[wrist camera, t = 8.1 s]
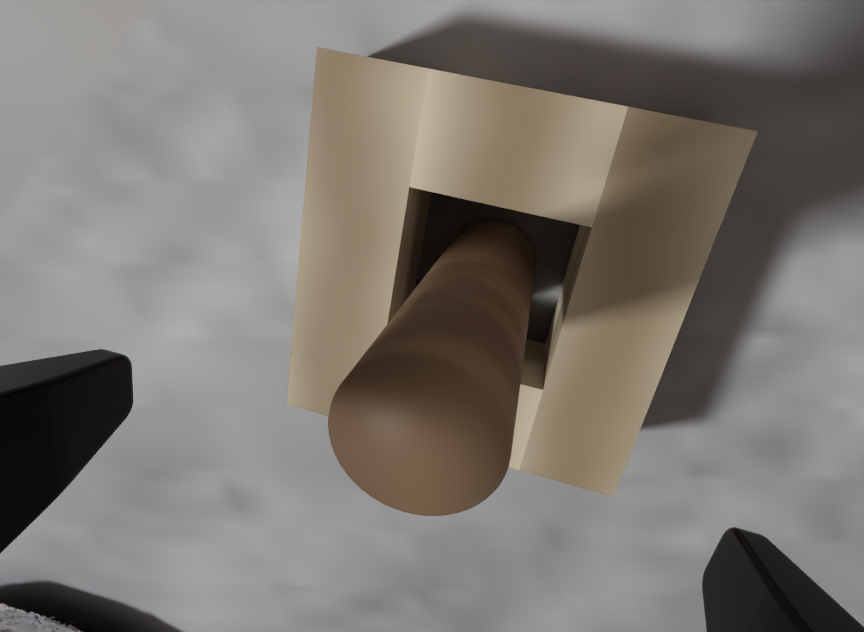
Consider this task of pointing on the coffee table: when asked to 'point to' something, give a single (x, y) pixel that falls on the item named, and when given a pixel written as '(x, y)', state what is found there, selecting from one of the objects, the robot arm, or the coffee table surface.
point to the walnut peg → (442, 380)
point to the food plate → (29, 622)
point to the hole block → (521, 191)
